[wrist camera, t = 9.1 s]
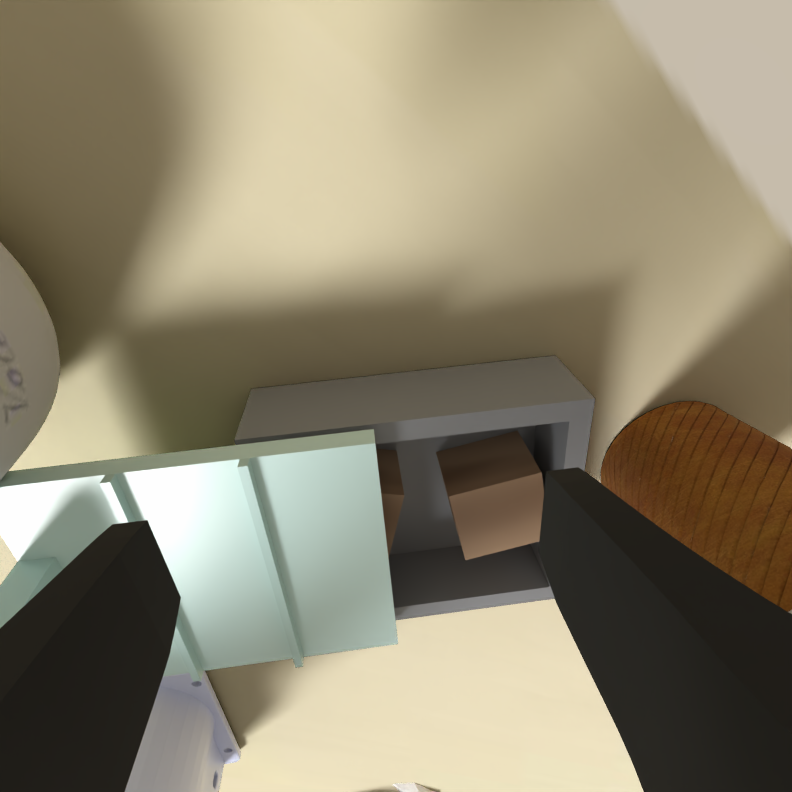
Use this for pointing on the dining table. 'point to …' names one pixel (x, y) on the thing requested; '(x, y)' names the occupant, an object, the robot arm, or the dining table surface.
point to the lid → (226, 543)
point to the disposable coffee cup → (711, 490)
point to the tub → (420, 472)
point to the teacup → (23, 361)
